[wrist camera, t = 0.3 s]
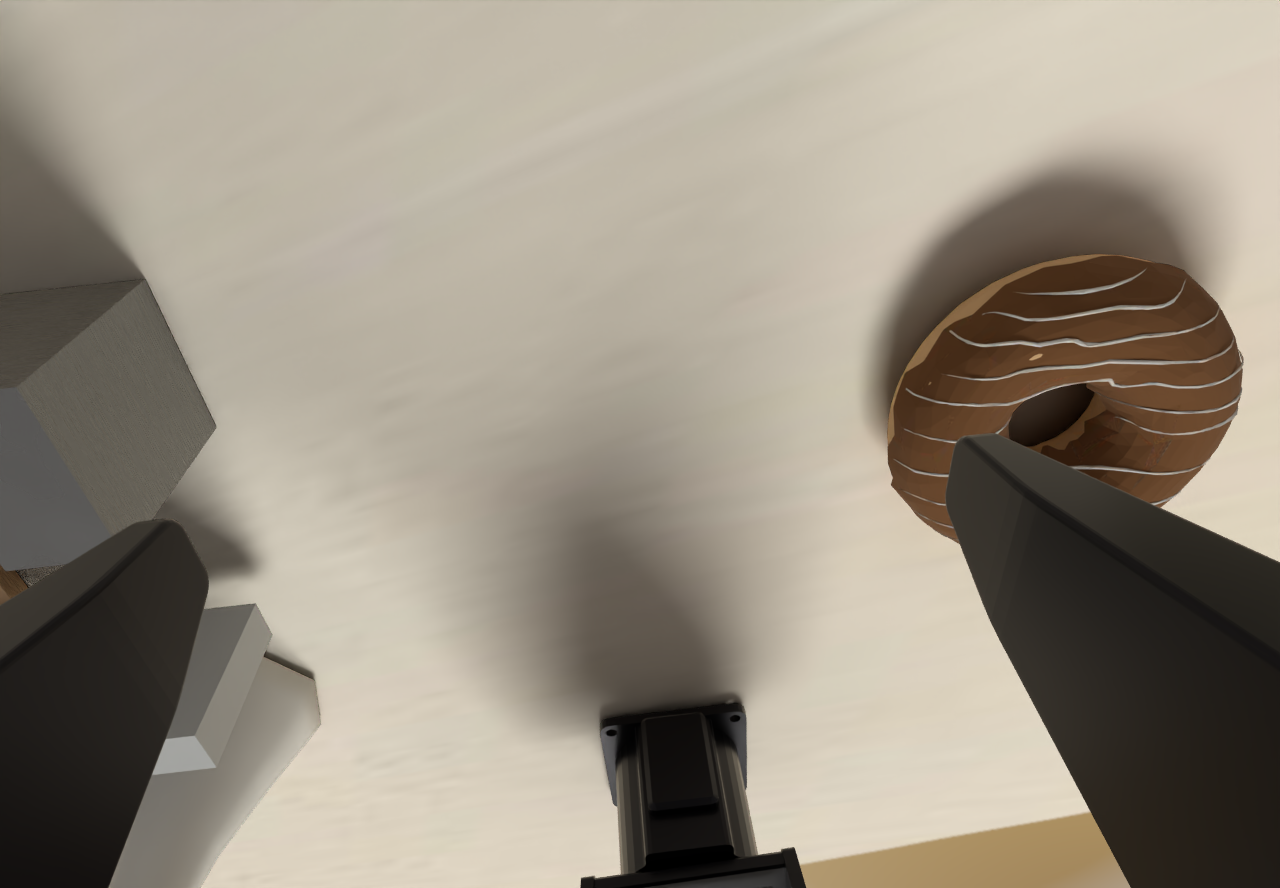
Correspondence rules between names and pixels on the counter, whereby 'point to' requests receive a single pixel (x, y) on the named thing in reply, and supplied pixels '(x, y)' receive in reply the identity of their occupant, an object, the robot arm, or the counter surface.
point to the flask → (219, 786)
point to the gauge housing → (88, 421)
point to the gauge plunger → (214, 687)
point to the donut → (1073, 377)
